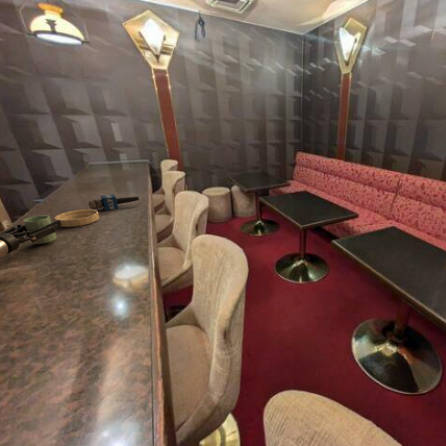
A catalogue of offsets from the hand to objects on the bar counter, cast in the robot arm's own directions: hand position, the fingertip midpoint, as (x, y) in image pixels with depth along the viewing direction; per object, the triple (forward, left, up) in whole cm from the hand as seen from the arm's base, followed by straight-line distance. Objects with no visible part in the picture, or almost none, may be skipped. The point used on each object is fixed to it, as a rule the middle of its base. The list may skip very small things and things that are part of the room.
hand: (48, 223), depth 108 cm
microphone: (+23, +39, -8) cm, 46 cm away
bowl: (+7, +20, -7) cm, 22 cm away
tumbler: (-2, -4, -6) cm, 8 cm away
